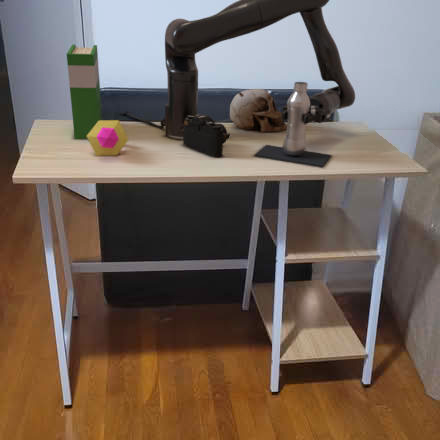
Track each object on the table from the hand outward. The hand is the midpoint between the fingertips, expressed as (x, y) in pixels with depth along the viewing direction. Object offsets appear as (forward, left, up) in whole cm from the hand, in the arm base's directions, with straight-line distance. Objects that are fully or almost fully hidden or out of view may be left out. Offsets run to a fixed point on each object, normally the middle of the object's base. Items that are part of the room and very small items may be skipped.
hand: (294, 118), depth 156 cm
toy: (-48, -21, -12) cm, 53 cm away
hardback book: (-65, -5, -12) cm, 66 cm away
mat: (0, +2, -11) cm, 12 cm away
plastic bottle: (0, +2, -11) cm, 11 cm away
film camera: (-25, -3, -12) cm, 27 cm away
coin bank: (-19, +27, -12) cm, 35 cm away
